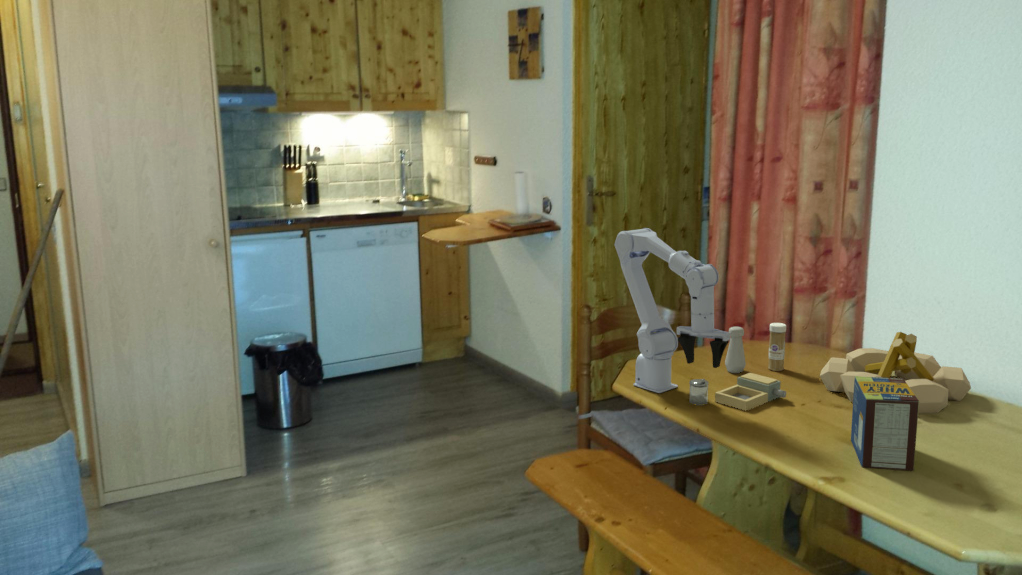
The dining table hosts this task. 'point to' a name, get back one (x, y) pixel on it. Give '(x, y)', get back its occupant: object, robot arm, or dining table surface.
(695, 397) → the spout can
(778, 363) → the sprinkles bottle
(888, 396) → the protein box
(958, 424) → the dining table surface
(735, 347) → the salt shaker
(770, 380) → the drawer
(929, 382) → the campfire
